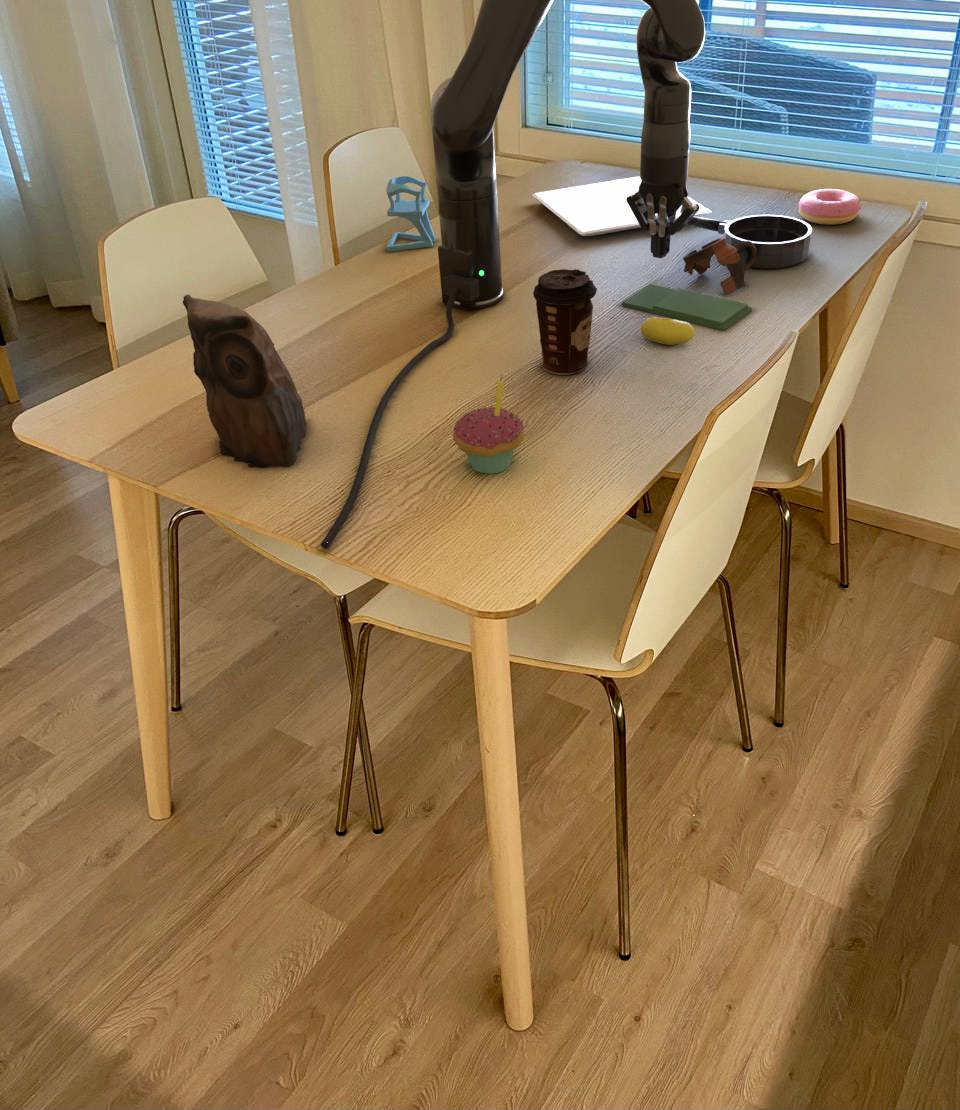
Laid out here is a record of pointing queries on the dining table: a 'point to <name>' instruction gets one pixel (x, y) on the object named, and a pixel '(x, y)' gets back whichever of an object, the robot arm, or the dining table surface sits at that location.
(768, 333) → the dining table surface
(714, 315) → the cloth
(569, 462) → the dining table surface
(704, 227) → the pan handle
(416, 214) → the chair
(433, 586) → the dining table surface
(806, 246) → the pan
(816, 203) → the doughnut
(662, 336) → the lemon
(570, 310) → the coffee cup
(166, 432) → the dining table surface
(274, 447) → the owl
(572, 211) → the white rectangular board
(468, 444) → the cupcake
